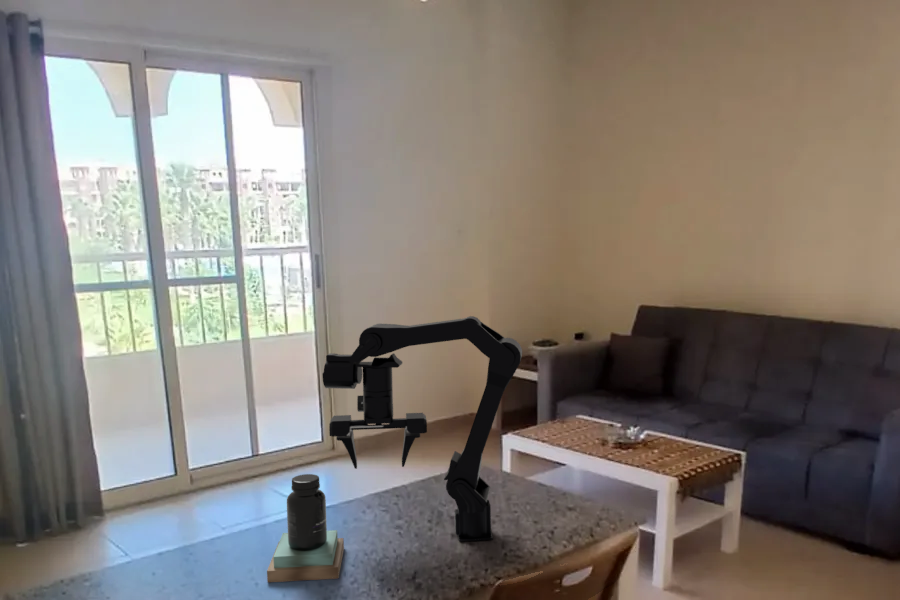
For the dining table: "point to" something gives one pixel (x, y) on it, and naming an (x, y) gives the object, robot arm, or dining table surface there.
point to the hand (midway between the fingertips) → (379, 467)
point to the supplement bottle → (306, 514)
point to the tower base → (307, 570)
